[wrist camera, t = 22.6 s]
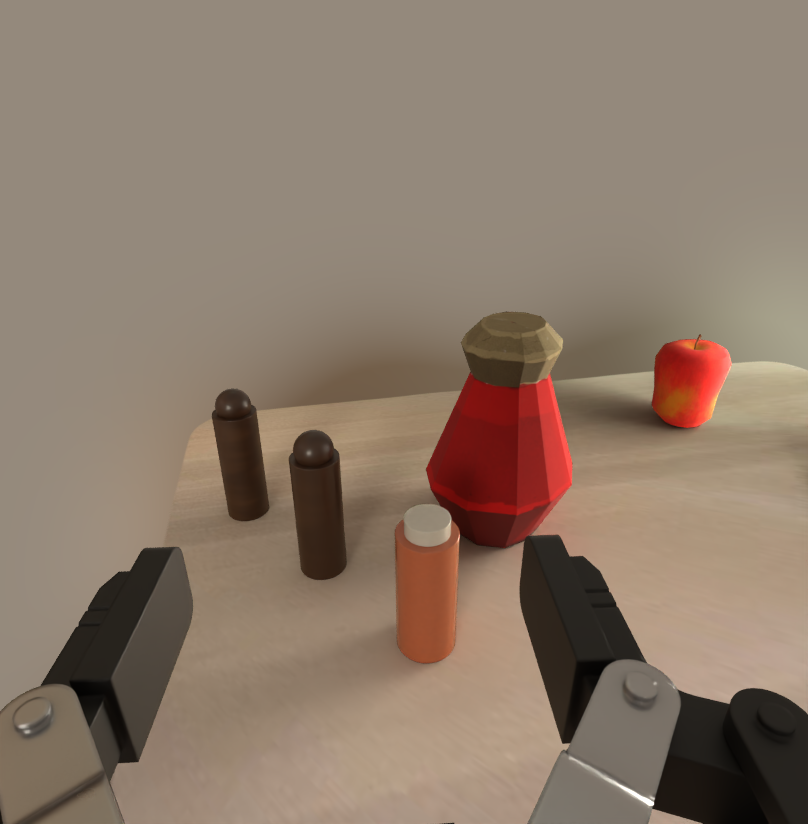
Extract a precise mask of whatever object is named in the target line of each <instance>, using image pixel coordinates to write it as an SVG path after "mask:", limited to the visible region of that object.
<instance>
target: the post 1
mask: <svg viewBox="0 0 808 824" xmlns="http://www.w3.org/2000/svg"><path fill="white" fill-rule="evenodd" d="M212 419H213V425H214V431H215V437H216V443H217V448H218V454H219V460H220V466H221V472H222V477H223V483H224V489H225V495H226V500H227V506H228V512H229V515H230V517H232V518H233V519H235V520H239V521H249V520H254V519H257V518H259V517H261V516H263V515H264V514H265V513H266V512H267V511H268V509H269V501H268V494H267V486H266V479H265V471H264V464H263V457H262V449H261V442H260V434H259V427H258V419H257V412H256V408H255V407H254V406H253V405H251V402H250V399H249V397H248V396H247V395H246V394H245V393H244V392H243V391H241V390H238V389H227V390H225V391H223V392H222V393H221V394H220V395H219V396H218V397H217V399H216V402H215V410H214V411H213V413H212Z"/></svg>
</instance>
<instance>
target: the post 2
mask: <svg viewBox="0 0 808 824" xmlns="http://www.w3.org/2000/svg"><path fill="white" fill-rule="evenodd" d="M289 465H290V474H291V483H292V492H293V501H294V510H295V519H296V528H297V537H298V546H299V555H300V564H301V570H302V572H303V573H304V574H305V575H306V576H307V577H309V578H312V579H317V580H325V579H330V578H333V577H335V576H337V575H339V574H340V573H341V572H342V571H343V570H344V568H345V566H346V548H345V533H344V518H343V503H342V487H341V472H340V457H339V453H338V451H337V450H336V449H334V446H333V443H332V441H331V439H330V437H329V436H328V435H326V434H325V433H324V432H321V431H318V430H309V431H306V432H304V433H302V434H301V435H300V436H299V437H298V438H297V439H296V441H295V443H294V447H293V453H292V454H291V455H290V457H289Z"/></svg>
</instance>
